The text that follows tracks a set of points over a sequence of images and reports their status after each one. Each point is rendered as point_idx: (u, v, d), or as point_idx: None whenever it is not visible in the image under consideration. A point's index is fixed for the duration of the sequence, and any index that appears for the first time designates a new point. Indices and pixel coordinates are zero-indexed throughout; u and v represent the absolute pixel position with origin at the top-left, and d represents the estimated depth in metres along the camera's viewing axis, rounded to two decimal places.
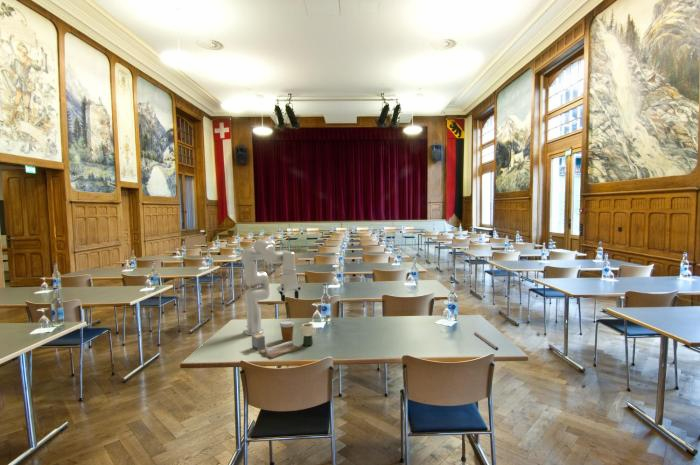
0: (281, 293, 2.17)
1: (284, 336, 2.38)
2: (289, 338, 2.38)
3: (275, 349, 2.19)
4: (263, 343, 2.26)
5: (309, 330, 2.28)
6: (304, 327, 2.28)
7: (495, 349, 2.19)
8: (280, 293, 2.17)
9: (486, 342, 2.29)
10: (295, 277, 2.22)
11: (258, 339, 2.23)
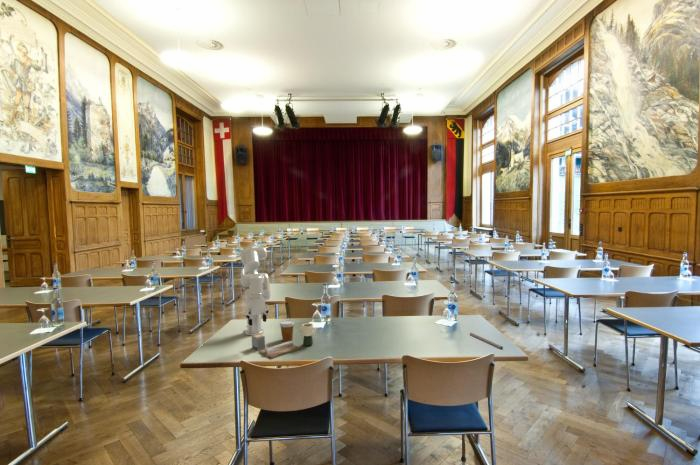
0: (248, 317, 2.21)
1: (284, 336, 2.38)
2: (289, 338, 2.38)
3: (275, 349, 2.19)
4: (263, 343, 2.26)
5: (309, 330, 2.28)
6: (304, 327, 2.28)
7: (500, 348, 2.19)
8: (247, 317, 2.20)
9: (487, 342, 2.29)
10: (262, 301, 2.26)
11: (258, 339, 2.23)
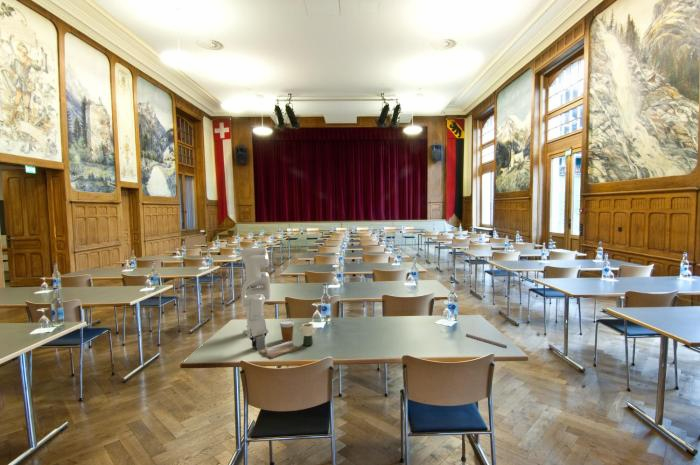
0: (252, 339, 2.23)
1: (284, 336, 2.38)
2: (289, 338, 2.38)
3: (275, 349, 2.19)
4: (263, 343, 2.26)
5: (309, 330, 2.28)
6: (304, 327, 2.28)
7: (505, 347, 2.21)
8: (251, 339, 2.23)
9: (489, 342, 2.29)
10: (263, 322, 2.27)
11: (258, 339, 2.23)
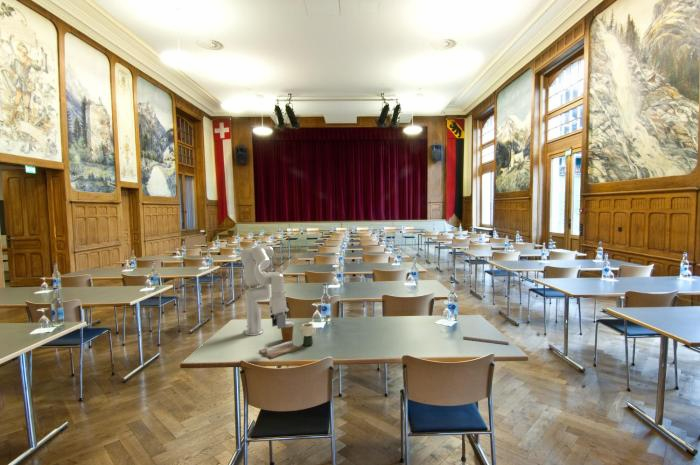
0: (272, 317, 2.18)
1: (284, 336, 2.38)
2: (289, 338, 2.38)
3: (275, 349, 2.19)
4: (284, 321, 2.20)
5: (309, 330, 2.28)
6: (304, 327, 2.28)
7: (508, 344, 2.26)
8: (271, 317, 2.18)
9: (490, 341, 2.30)
10: (284, 299, 2.21)
11: (279, 317, 2.18)
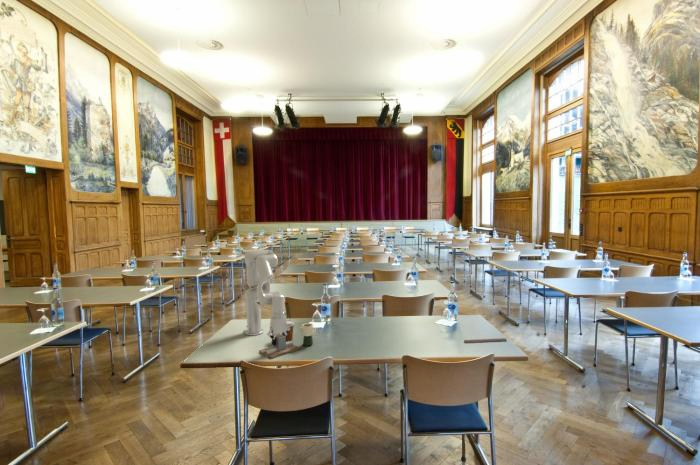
0: (272, 337, 2.18)
1: None
2: (289, 338, 2.38)
3: (275, 349, 2.19)
4: (284, 343, 2.21)
5: (309, 330, 2.28)
6: (304, 327, 2.28)
7: (506, 340, 2.32)
8: (271, 337, 2.18)
9: (490, 341, 2.31)
10: (284, 320, 2.22)
11: (279, 339, 2.19)
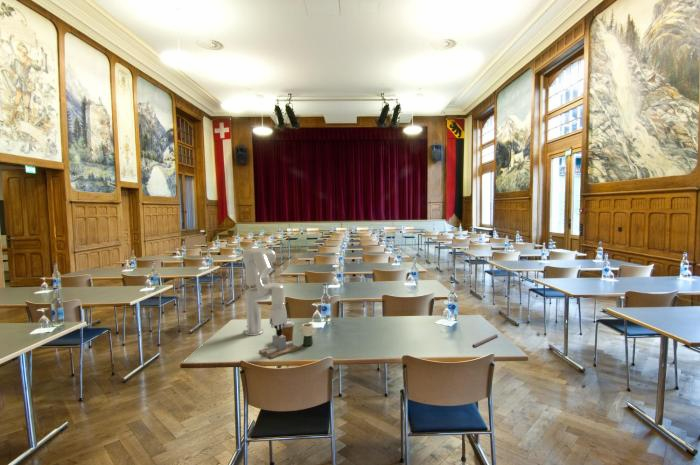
0: (276, 328, 2.20)
1: None
2: (289, 338, 2.38)
3: (275, 349, 2.19)
4: (284, 343, 2.21)
5: (309, 330, 2.28)
6: (304, 327, 2.28)
7: (497, 336, 2.40)
8: (275, 328, 2.20)
9: None
10: (284, 311, 2.22)
11: (279, 339, 2.19)
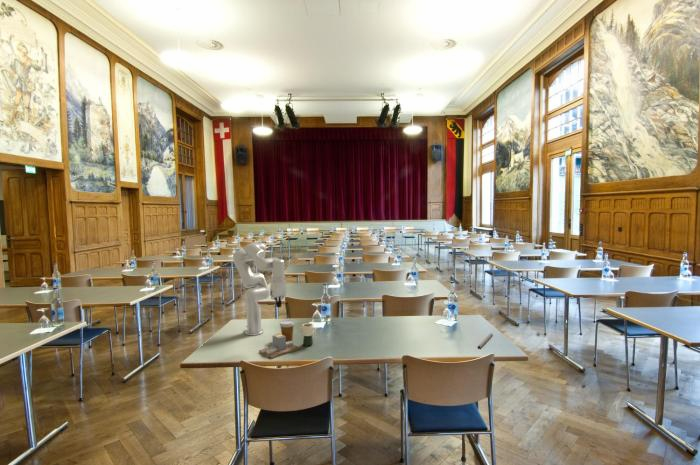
0: (276, 299, 2.31)
1: None
2: (289, 338, 2.38)
3: (275, 349, 2.19)
4: (284, 343, 2.21)
5: (309, 330, 2.28)
6: (304, 327, 2.28)
7: (492, 335, 2.42)
8: (275, 299, 2.31)
9: (488, 339, 2.34)
10: (284, 284, 2.32)
11: (279, 339, 2.19)
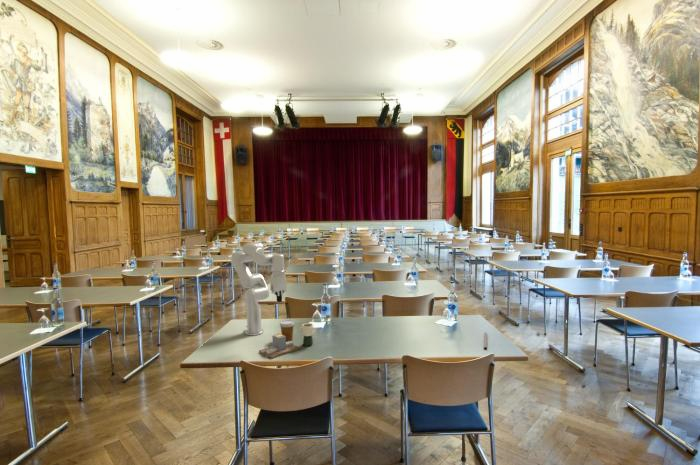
0: (277, 294, 2.32)
1: None
2: (289, 338, 2.38)
3: (275, 349, 2.19)
4: (284, 343, 2.21)
5: (309, 330, 2.28)
6: (304, 327, 2.28)
7: (486, 334, 2.44)
8: (276, 294, 2.32)
9: None
10: (284, 278, 2.34)
11: (279, 339, 2.19)
